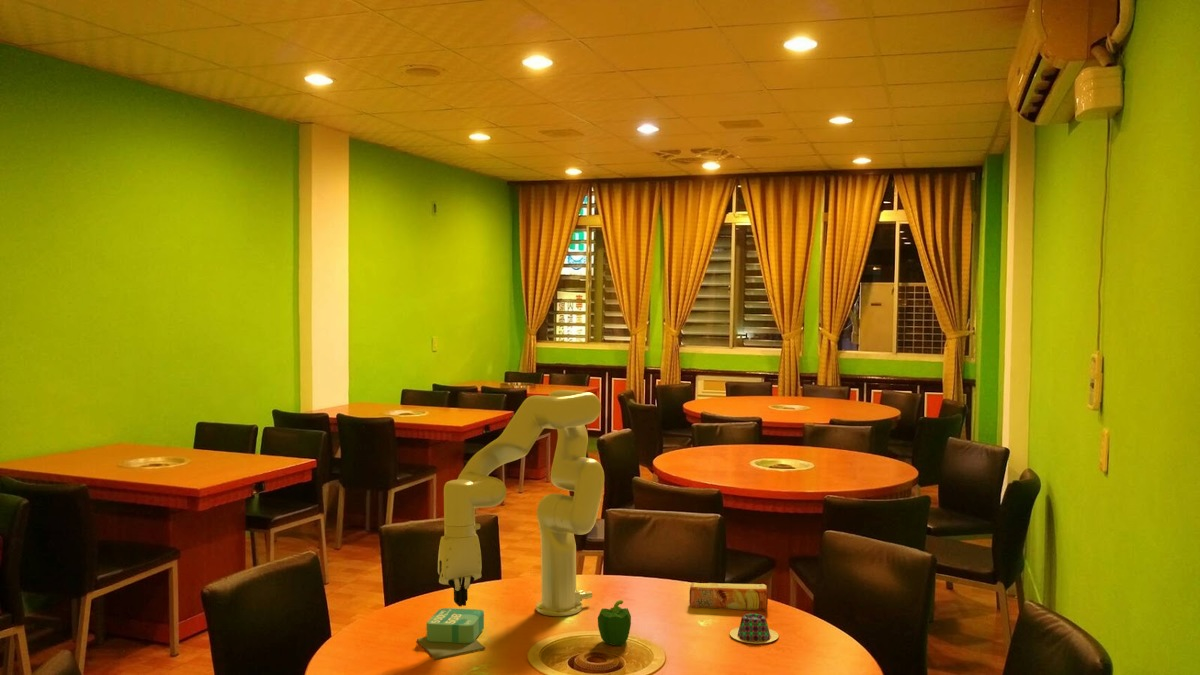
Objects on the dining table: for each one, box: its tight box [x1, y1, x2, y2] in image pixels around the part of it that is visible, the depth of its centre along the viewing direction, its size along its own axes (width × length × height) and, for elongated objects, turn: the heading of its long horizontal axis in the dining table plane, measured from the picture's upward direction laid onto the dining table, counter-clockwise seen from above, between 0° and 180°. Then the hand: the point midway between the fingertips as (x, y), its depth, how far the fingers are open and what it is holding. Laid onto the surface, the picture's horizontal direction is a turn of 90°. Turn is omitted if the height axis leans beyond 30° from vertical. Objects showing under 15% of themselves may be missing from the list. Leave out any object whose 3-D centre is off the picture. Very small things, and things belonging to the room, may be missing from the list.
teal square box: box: [426, 607, 485, 643], centre depth 225 cm, size 12×4×12 cm
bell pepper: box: [597, 599, 632, 647], centre depth 220 cm, size 8×8×10 cm
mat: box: [416, 636, 486, 661], centre depth 219 cm, size 12×14×1 cm
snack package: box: [688, 582, 769, 612], centre depth 245 cm, size 21×7×7 cm, turn 78°
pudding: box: [729, 612, 779, 644], centre depth 223 cm, size 12×12×5 cm
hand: (460, 604), depth 220 cm, fingers closed
